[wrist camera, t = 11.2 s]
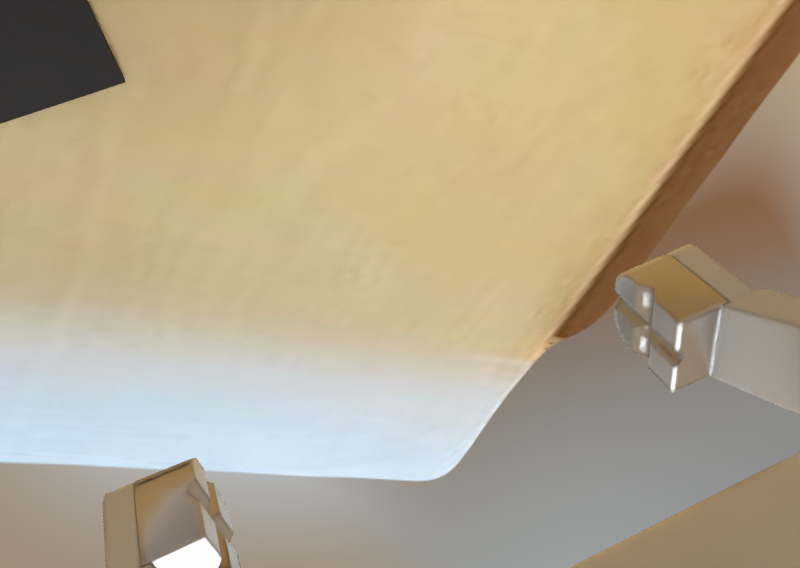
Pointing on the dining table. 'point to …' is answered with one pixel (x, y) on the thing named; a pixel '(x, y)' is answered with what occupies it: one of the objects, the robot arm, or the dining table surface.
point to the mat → (50, 55)
